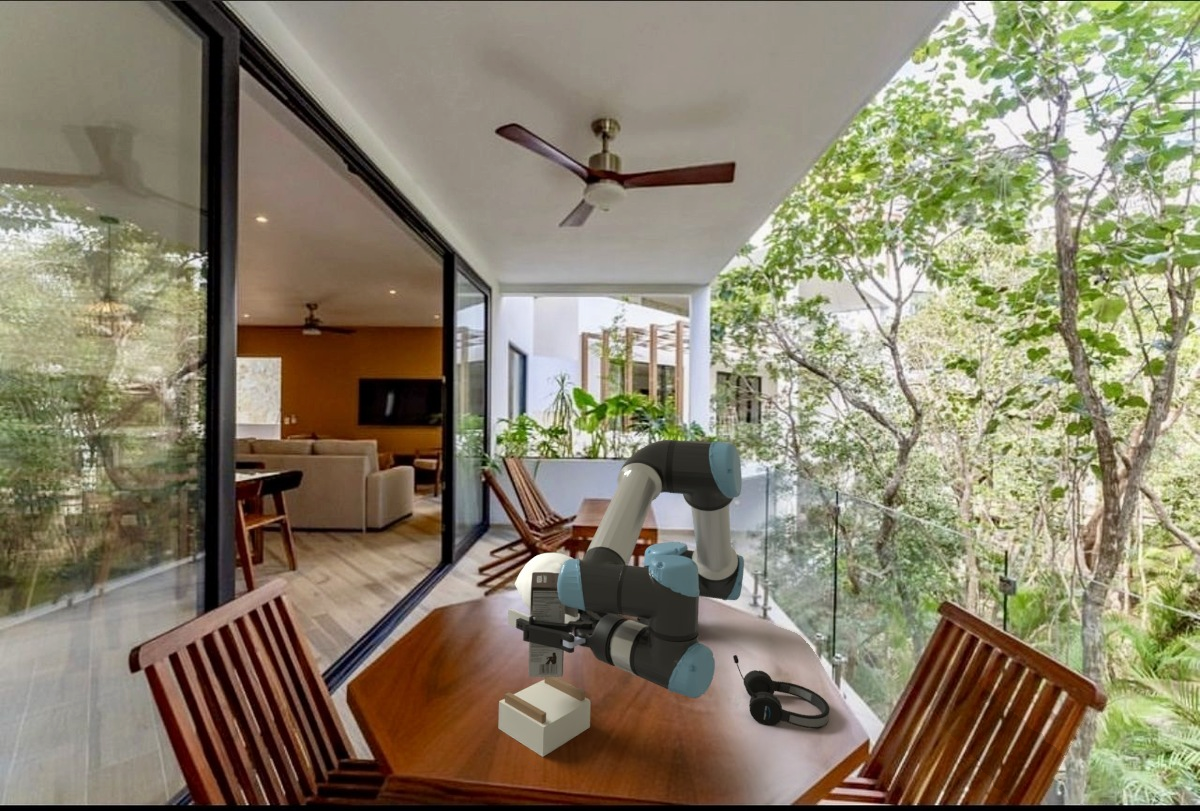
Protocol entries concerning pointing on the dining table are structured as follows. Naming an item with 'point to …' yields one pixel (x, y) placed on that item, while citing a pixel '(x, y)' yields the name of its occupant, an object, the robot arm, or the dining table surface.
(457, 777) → the dining table surface
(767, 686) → the headset
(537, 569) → the head sculpture
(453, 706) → the dining table surface
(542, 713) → the plinth
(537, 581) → the coffee box
